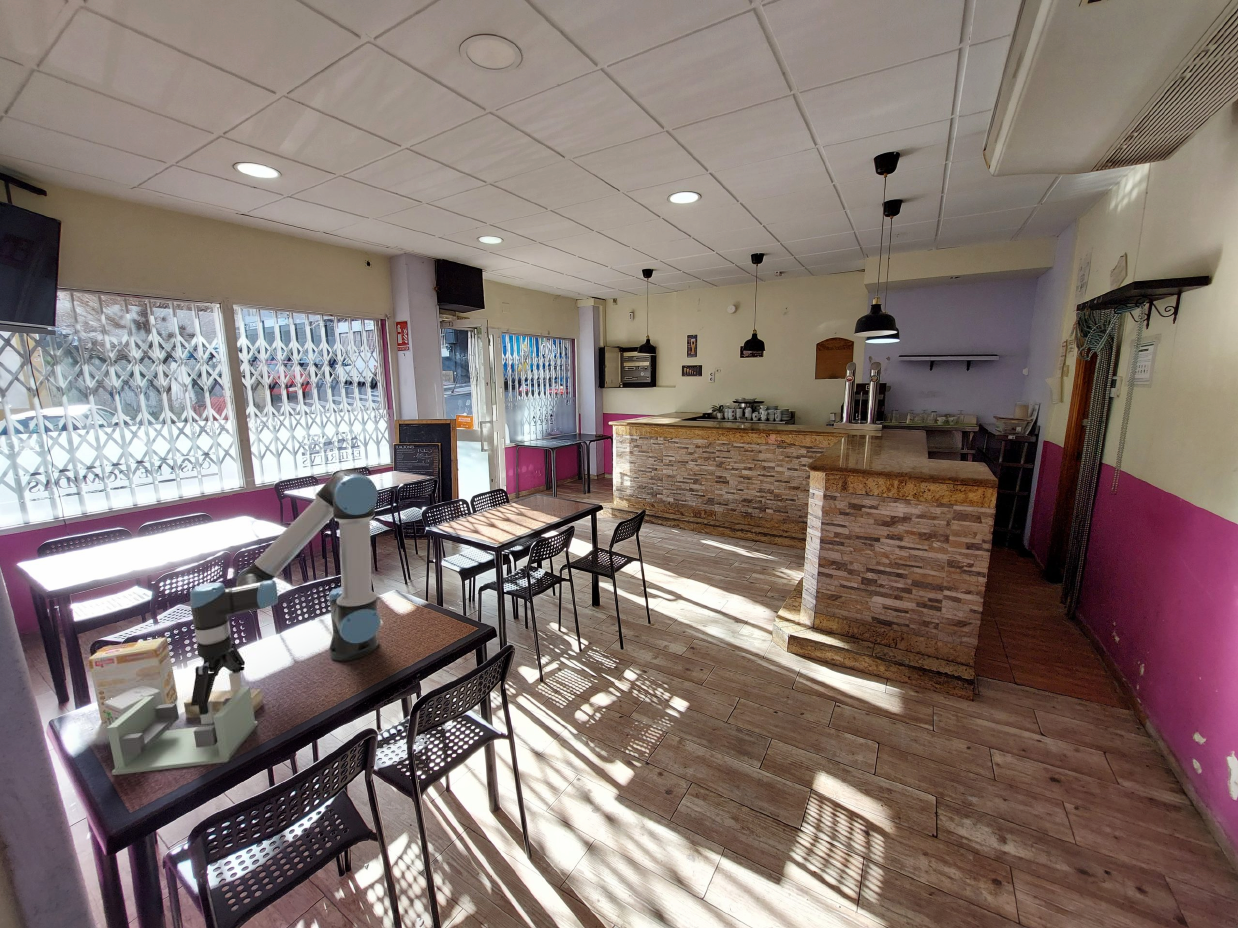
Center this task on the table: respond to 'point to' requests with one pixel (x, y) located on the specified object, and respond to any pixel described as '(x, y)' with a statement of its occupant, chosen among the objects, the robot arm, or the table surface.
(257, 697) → the rail
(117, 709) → the ink box
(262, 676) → the table surface
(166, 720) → the bracket stand
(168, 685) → the coffeecake box
